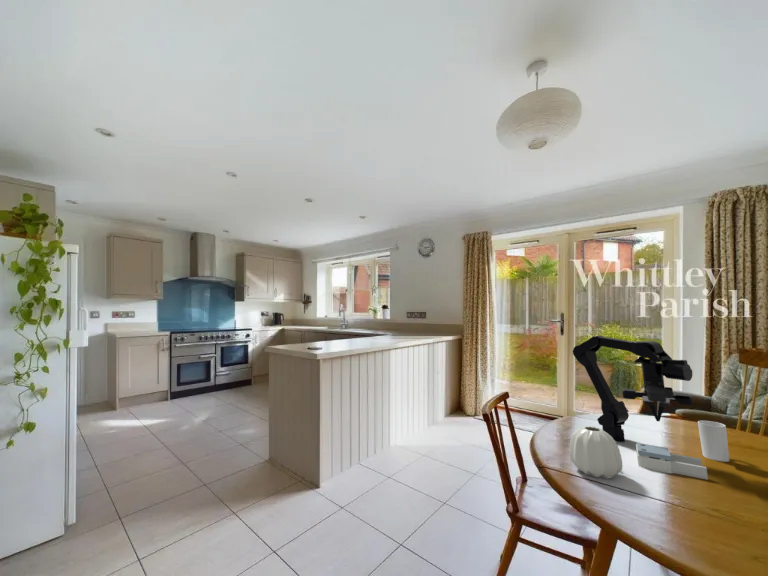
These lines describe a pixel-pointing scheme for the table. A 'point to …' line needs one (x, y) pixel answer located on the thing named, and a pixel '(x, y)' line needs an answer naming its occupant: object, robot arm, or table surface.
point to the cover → (653, 451)
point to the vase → (595, 452)
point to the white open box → (675, 465)
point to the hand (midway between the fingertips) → (657, 421)
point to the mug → (713, 440)
